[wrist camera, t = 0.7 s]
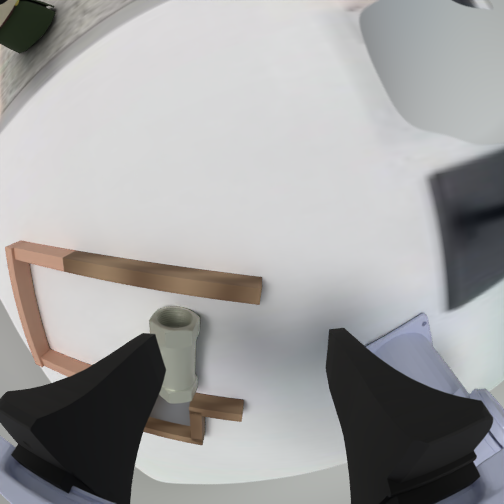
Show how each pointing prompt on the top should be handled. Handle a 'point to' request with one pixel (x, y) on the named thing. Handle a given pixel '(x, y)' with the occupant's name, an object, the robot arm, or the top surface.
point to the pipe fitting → (177, 351)
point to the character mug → (23, 23)
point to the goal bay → (27, 304)
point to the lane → (188, 283)
